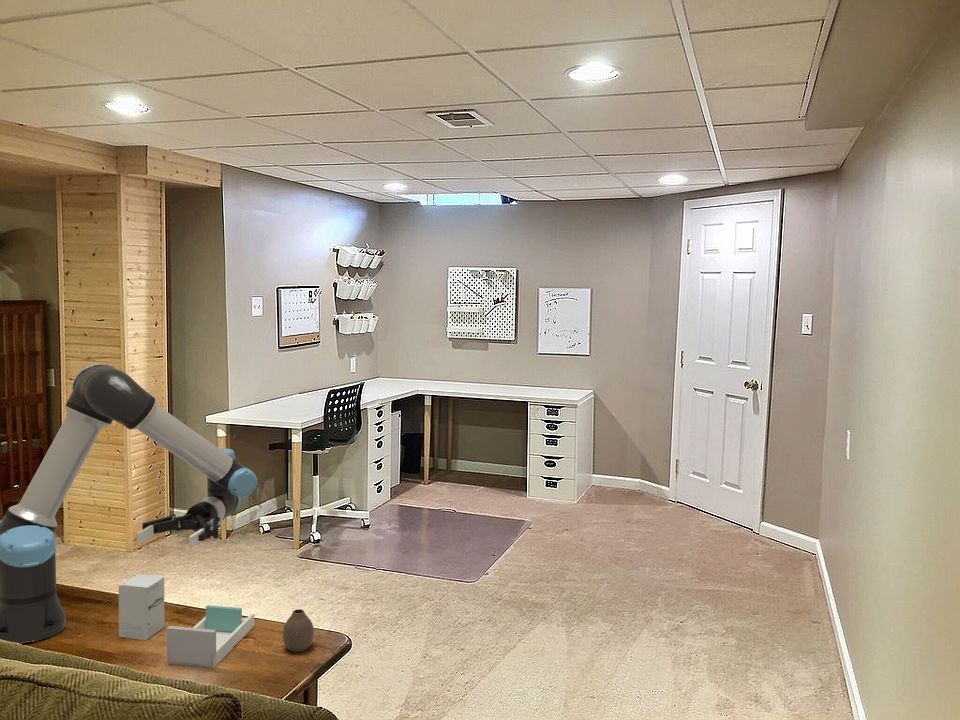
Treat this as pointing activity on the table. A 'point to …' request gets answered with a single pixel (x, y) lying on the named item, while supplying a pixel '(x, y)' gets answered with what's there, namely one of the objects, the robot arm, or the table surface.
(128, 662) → the table surface
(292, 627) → the vase
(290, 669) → the table surface
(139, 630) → the supplement box
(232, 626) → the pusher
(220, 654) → the tray
